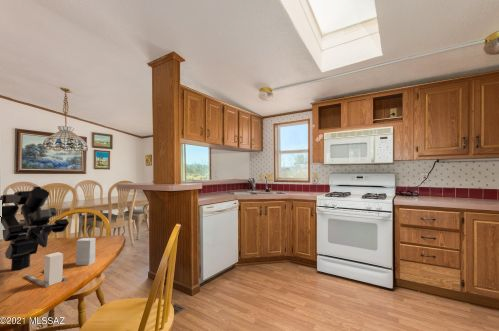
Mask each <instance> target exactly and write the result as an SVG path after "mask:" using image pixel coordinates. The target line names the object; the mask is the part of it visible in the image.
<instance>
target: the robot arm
mask: <svg viewBox="0 0 499 331" xmlns="http://www.w3.org/2000/svg"><path fill="white" fill-rule="evenodd" d="M49 196H50V192H49V191H48V190H46V189H44V188H42V187H41V186H33V188H32V190H17V191H15V192H14V193H11V194H3V195H0V200H2V217H1V216H0V217H1V225H2V227H3V229H4V230H5V232H4V233H3V240H4V241H5V242H10V243H9V245H8V247H7V248H6V250H5V253H4V254H5V258H6V259H8V260H11V263H10V264H11V265H10V269H11V272H16V271H17V272H18V271H21V270H24V269H28V268H30V267H31V255H35V254H37V252H38V247H39V246H41V247H42V248H46V247H47V245H48V239H49V236H50V234H51V232H53V233H56V234H57V233H62V232H64V231H66V229H67V227H68V225H69V223H70V222H69V220H68V219H67V218H61V219H55V221H54V222H53V223H49V222H50V219H51V218H53V217H56V216H57V214H58V211H57V209H56V208H55V207H50V208H47V209H42V208H41V207H43V206H44V205H45V203H46V202H47V200H48V197H49ZM4 204H10V205H4ZM19 206H21V207H19ZM19 209H20V210H21V211H20V214H21V215H22V217H23V218H24V222H23V224H24V225H25V226H26V227H24V225H22V224H20V223H19V221H18V219H17V217H16V215H17V213H18V211H19Z"/></svg>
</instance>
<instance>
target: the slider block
mask: <svg viewBox="0 0 499 331" xmlns="http://www.w3.org/2000/svg"><path fill="white" fill-rule="evenodd" d="M63 265H64V253H62V252H58V251H57V252H54V253H50V254H49V253H48V254H45V255H44V266H43V267H44V268H43V269H44V272H43V281H44V282H46V283H48V284H49V286H52V285H54V284H57V283H60V282H63V280H62V276H63V271H64V270H63V267H64V266H63Z"/></svg>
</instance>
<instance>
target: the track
mask: <svg viewBox="0 0 499 331" xmlns="http://www.w3.org/2000/svg"><path fill="white" fill-rule="evenodd" d="M42 272H43V273H44V268H43V269H42ZM24 278H25V279H27V280H29V281H32V282H33V283H36V284H37V285H40V286H41V287H44V288H45V289H46V288H48V287H49V286H50V285H49V284H48V283H46V282H44V280H41V279H39V278H37V277H35V276H33V275H30V274H29V273H26V274H24ZM67 281H68V277H65V276H63V275H62V282H67Z"/></svg>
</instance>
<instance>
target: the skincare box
mask: <svg viewBox="0 0 499 331" xmlns="http://www.w3.org/2000/svg"><path fill="white" fill-rule="evenodd" d="M96 241H97V240H96V237H82V238H79V239H77V240H76V247H75V248H76V250H75V251H76V252H75V253H76V254H75V255H76V256H75V266H90V265H92V264H94V263H95V262H96Z"/></svg>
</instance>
